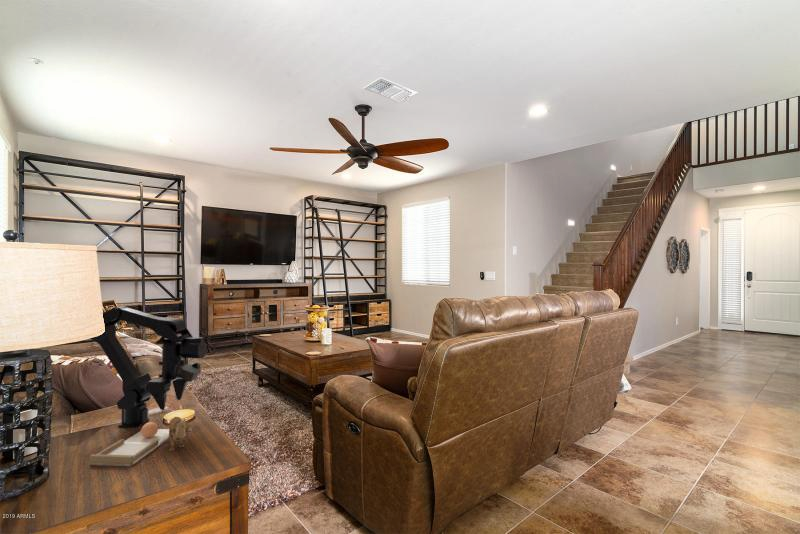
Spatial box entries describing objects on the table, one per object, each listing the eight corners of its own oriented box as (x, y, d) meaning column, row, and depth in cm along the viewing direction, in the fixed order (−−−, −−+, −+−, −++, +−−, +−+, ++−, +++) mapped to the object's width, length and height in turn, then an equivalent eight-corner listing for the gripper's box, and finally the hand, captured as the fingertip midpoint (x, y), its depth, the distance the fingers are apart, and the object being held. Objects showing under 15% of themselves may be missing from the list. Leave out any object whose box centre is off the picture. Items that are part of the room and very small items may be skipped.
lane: (89, 464, 106) (89, 455, 106) (144, 430, 128) (144, 422, 128) (130, 466, 105) (130, 457, 105) (178, 431, 127) (178, 423, 127)
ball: (137, 440, 119) (137, 425, 119) (147, 433, 124) (147, 419, 124) (152, 440, 119) (152, 425, 119) (161, 434, 124) (161, 420, 124)
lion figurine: (193, 451, 115) (194, 420, 114) (172, 456, 111) (174, 425, 111) (178, 431, 126) (179, 403, 125) (159, 436, 122) (160, 407, 121)
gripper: (179, 365, 123) (178, 416, 123) (210, 351, 141) (209, 396, 141) (144, 364, 123) (143, 414, 123) (179, 350, 142) (178, 394, 142)
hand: (171, 404), depth 132 cm, fingers open, 9 cm apart
